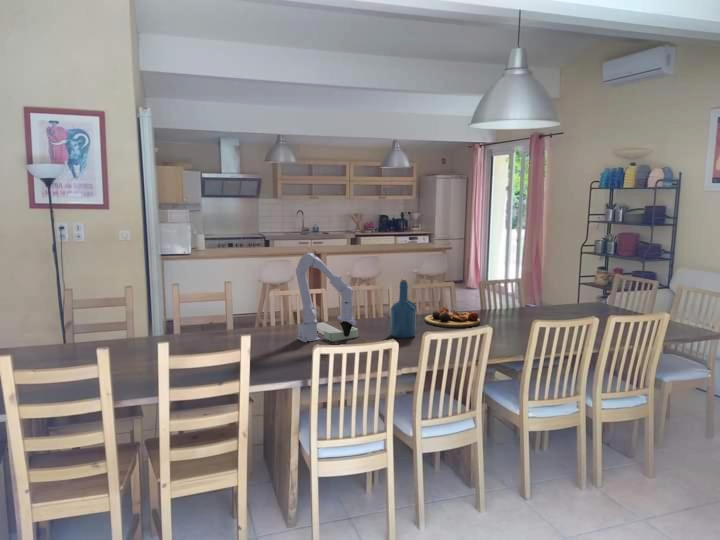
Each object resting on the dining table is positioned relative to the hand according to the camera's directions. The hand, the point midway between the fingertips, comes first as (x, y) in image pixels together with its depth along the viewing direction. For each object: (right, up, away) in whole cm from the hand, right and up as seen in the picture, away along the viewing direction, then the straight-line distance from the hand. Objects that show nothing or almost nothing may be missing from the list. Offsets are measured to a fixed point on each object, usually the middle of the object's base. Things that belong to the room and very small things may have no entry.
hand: (346, 336), depth 273 cm
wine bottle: (+29, -1, +9) cm, 31 cm away
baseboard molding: (-12, 0, +18) cm, 21 cm away
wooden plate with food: (+61, +3, +41) cm, 73 cm away
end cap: (-3, -1, +4) cm, 5 cm away
